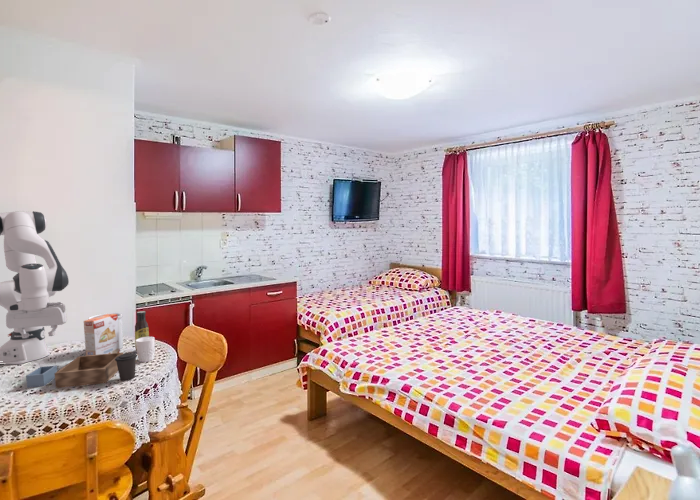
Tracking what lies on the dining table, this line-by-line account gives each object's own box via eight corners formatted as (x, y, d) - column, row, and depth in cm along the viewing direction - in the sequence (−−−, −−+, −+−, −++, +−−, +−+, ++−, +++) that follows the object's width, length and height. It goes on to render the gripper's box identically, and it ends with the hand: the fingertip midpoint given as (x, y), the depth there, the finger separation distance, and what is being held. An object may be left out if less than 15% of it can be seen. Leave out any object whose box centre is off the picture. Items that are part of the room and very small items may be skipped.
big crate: (55, 388, 152) (54, 373, 152) (79, 369, 172) (78, 356, 171) (106, 383, 156) (104, 368, 156) (124, 365, 176) (123, 352, 175)
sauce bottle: (139, 353, 191) (137, 314, 190) (133, 351, 194) (130, 312, 193) (152, 349, 197) (149, 311, 195) (145, 347, 200) (143, 310, 198)
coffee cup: (142, 373, 165) (140, 351, 164) (132, 381, 156) (130, 357, 156) (123, 374, 164) (121, 351, 164) (112, 382, 156) (110, 358, 155)
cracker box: (97, 366, 175) (93, 321, 174) (86, 365, 177) (82, 320, 175) (121, 355, 189) (117, 313, 187) (110, 354, 190) (107, 313, 189)
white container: (103, 344, 207) (101, 312, 206) (130, 344, 206) (128, 312, 205) (83, 354, 192) (80, 319, 191) (112, 353, 192) (109, 319, 190)
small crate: (27, 388, 154) (26, 375, 153) (41, 378, 164) (40, 366, 163) (44, 386, 155) (43, 374, 155) (57, 376, 165) (56, 365, 164)
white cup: (134, 360, 182) (133, 339, 181) (152, 355, 188) (150, 335, 187) (140, 364, 176) (139, 342, 176) (158, 359, 182) (157, 338, 181)
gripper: (68, 300, 162) (71, 332, 163) (12, 303, 158) (15, 336, 159) (60, 303, 156) (63, 336, 157) (1, 307, 152) (5, 341, 153)
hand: (38, 336), depth 158 cm, fingers open, 8 cm apart
